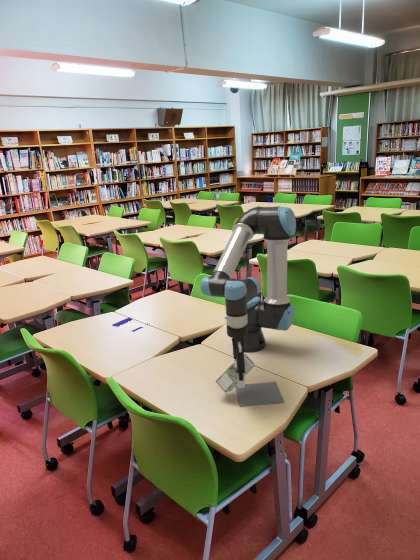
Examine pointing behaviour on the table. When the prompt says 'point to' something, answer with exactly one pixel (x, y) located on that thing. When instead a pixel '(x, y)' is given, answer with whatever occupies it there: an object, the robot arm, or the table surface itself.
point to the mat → (259, 394)
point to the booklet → (126, 322)
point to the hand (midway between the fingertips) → (239, 381)
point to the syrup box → (233, 374)
